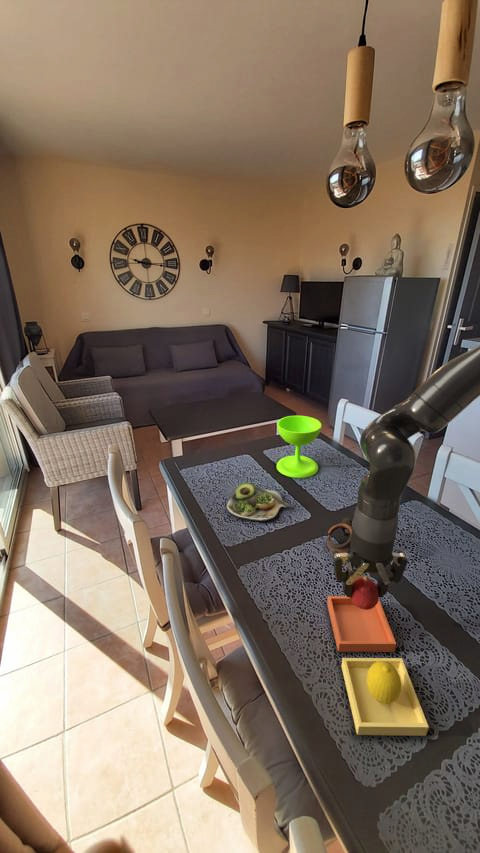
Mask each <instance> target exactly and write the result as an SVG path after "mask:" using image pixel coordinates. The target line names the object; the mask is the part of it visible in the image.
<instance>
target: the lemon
mask: <svg viewBox="0 0 480 853" xmlns="http://www.w3.org/2000/svg"><path fill="white" fill-rule="evenodd" d="M367 686H368V690H369V692H370V694H371V695H372V696H373V698H374V699H376V700H377V701H378V702H380V703H383V704H391V703H393V702H395V701H396V700H397V698H398V697H399V695H400V692H401V680H400V676H399V674H398V671H397V670H396V669H395V667H394V666H393V665H391V664H390V663H388V662H386V661H377V662H375V663H374V664H372V666H371V667H370V669H369V670H368V674H367Z"/></svg>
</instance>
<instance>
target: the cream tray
mask: <svg viewBox="0 0 480 853" xmlns="http://www.w3.org/2000/svg"><path fill="white" fill-rule="evenodd" d="M341 659H342V660H341V670H342V675H343V679H344V684H345V688H346V693H347V696H348V700H349V706H350V710H351V714H352V718H353V722H354V728H355V732H356V734H357V736H403V737H404V736H405V737H406V736H411V737H412V736H413V737H414V736H415V737H416V736H417V737H426V736H427V734H428V731H429V729H430V727H429V724H428V721H427V718H426V716H425V714H424V711H423V709H422V706H421V703H420V700H419V699H418V696H417V693H416V690H415V688H414V685H413V682H412V680H411V677H410V675H409V673H408V670H407V667H406V665H405V662H404V660H403V658H402V657H399V658H398V657H388V658H387V657H342V658H341ZM377 661H386V662H388V663H390V664H391V665H393V666H394V667H395V669H396V670H397V671H398V674H399V676H400V680H401V692H400V695H399V697H398V698H397V700H396V701H395V702H393V703H391V704H383V703H380V702H378V701H377V700H376V699H374V698H373V696H372V695H371V694H370V692H369V690H368V686H367V674H368V670H369V669H370V667H371V666H372V664H374V663H375V662H377Z"/></svg>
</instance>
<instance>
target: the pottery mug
mask: <svg viewBox="0 0 480 853" xmlns="http://www.w3.org/2000/svg"><path fill="white" fill-rule="evenodd" d="M352 523H353V520H352V519H351V518H350V517H345V518H343V519H342V521H341V523H337V524H335V525H333V526H331V527H330V529H329V530H328V531H327V537H326V546H327V548H328V549H329V550H330V551H331V552H332V553H333V551H338V552H339V554H340V553H347V551H348V550H349V548H350V544H351V535H352V527H353V524H352ZM338 529H340V530H341V531H342V534H343V537H347V538H348V539H347V541H345V542H344V543H340V544H336V543H334V542H332V540H331V536H332V534H333V533H334V532H335V531H336V530H338Z"/></svg>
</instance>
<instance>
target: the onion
mask: <svg viewBox="0 0 480 853" xmlns="http://www.w3.org/2000/svg"><path fill="white" fill-rule="evenodd" d="M352 584H353V587H352V594H351V597H350V599H351V601H352V602H353V604H354V605H355V606H357V607H358V608H360V609H364V610H369V609H372V608H374V607H375V606H376V605H377V603H378V600H380V597H379V591H378V588H377V583H375V582H374V580H372V579H371V578H370V577H369V576H368V575H366V574H365V575H364V576H360V577H359V578H358V579H357V578H356V579H355V580H354V582H353V583H352Z"/></svg>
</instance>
